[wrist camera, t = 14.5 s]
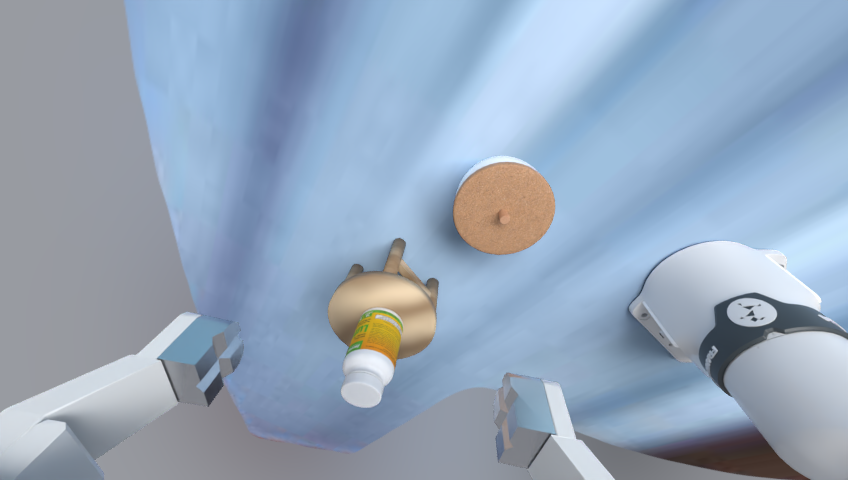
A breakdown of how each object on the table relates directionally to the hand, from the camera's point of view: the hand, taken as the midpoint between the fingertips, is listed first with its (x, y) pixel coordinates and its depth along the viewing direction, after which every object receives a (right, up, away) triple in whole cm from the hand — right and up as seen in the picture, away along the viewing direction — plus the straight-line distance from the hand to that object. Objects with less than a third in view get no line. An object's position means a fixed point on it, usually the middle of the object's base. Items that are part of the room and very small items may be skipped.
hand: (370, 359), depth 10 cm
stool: (-3, -2, +40) cm, 40 cm away
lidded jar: (+11, +10, +31) cm, 35 cm away
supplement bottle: (-4, -7, +32) cm, 33 cm away
